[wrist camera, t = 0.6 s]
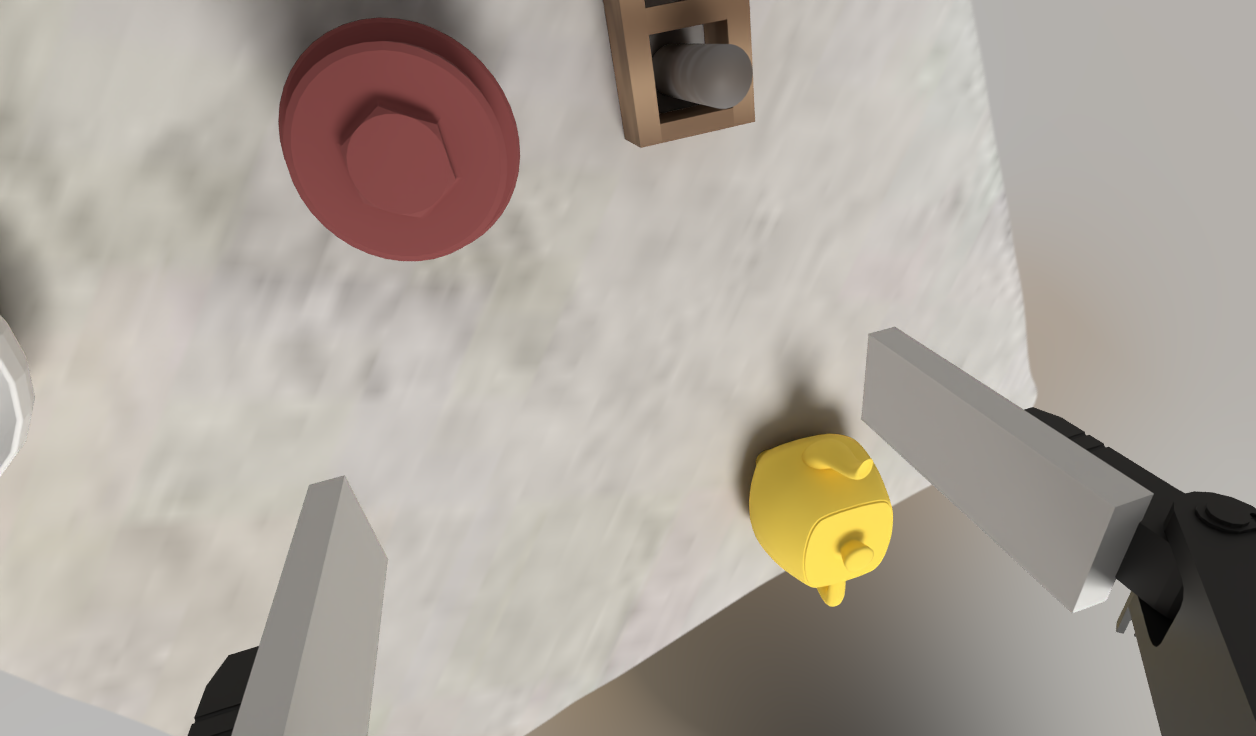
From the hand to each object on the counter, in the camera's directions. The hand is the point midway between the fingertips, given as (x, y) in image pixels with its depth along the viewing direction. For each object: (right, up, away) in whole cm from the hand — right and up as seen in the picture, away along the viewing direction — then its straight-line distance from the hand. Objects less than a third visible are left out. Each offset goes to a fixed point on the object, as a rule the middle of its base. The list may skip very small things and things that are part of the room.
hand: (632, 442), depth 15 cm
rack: (+2, +22, +19) cm, 29 cm away
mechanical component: (-12, +15, +18) cm, 27 cm away
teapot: (+15, -7, +39) cm, 43 cm away
